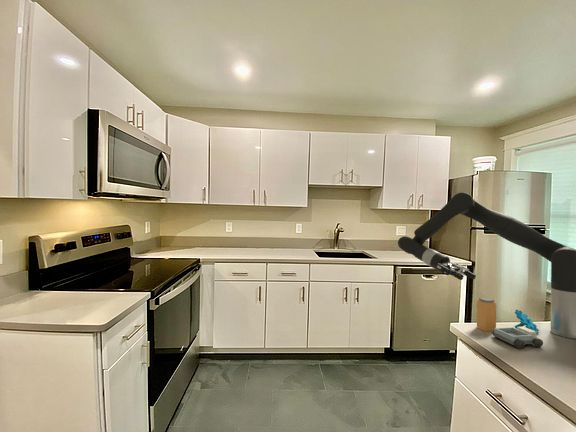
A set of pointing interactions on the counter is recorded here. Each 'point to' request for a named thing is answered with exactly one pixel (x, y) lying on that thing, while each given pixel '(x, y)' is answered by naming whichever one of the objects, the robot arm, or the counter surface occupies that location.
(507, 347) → the counter surface
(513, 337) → the truck
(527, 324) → the gear
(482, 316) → the orange tower grey cap
